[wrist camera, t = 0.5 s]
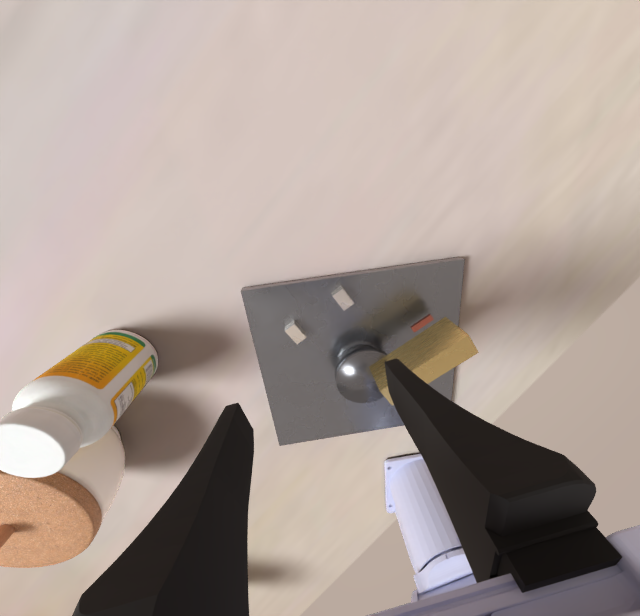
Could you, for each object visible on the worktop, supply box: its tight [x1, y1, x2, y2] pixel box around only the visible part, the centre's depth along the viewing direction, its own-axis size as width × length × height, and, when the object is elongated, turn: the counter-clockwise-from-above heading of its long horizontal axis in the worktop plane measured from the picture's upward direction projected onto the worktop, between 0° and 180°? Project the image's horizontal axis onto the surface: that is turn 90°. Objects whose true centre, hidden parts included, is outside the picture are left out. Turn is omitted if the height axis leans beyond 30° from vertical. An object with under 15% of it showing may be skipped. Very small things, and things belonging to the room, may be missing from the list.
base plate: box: [241, 257, 465, 446], centre depth 24 cm, size 17×18×2 cm
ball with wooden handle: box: [335, 317, 478, 406], centre depth 21 cm, size 11×5×4 cm, turn 127°
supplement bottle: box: [0, 330, 158, 478], centre depth 19 cm, size 5×5×10 cm
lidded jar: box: [0, 425, 125, 568], centre depth 22 cm, size 11×11×9 cm
